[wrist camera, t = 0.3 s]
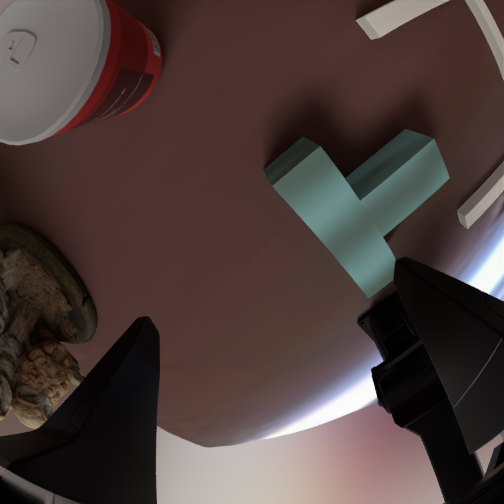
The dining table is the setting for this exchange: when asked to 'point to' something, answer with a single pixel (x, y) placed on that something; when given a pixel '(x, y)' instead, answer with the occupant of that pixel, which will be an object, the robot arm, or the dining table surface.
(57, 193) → the dining table surface
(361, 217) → the T block
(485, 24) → the outline
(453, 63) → the dining table surface
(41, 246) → the khaki lumpy piece
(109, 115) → the red tapered cylinder
